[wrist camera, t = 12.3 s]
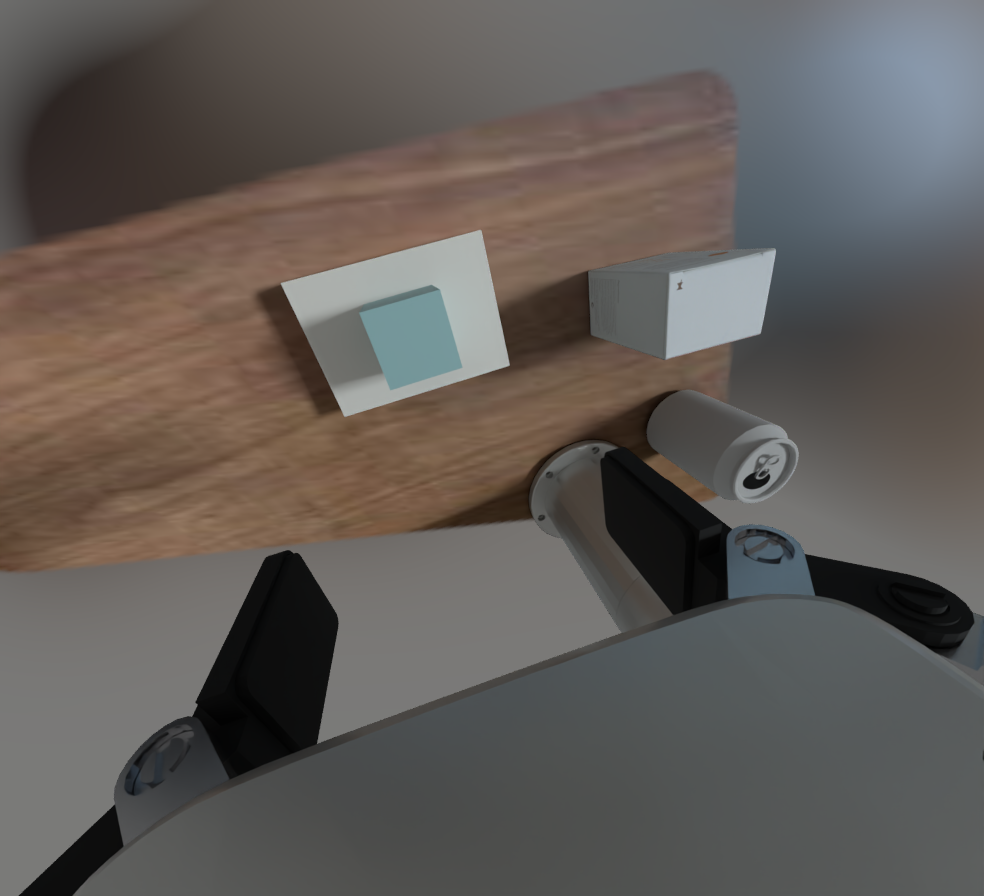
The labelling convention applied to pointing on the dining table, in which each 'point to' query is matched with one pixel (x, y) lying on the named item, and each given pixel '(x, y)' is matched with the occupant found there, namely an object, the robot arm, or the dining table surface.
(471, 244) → the plate
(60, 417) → the dining table surface
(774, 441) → the can
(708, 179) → the dining table surface
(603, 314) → the small box
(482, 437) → the dining table surface
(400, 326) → the teal cube
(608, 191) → the dining table surface
